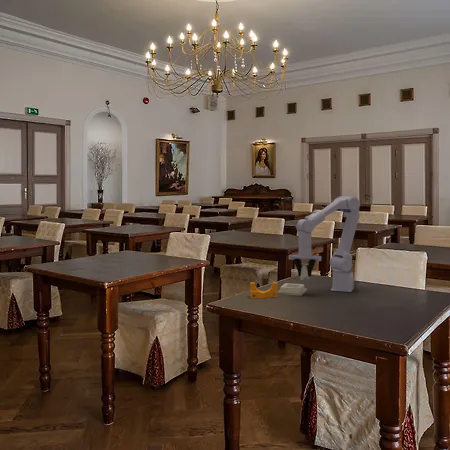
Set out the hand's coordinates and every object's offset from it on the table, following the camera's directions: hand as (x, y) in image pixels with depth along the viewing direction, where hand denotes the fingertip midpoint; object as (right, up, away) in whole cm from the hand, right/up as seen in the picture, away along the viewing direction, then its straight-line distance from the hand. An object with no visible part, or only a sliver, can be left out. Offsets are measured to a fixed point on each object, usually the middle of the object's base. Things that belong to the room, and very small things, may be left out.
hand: (304, 275), depth 222 cm
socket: (-5, -8, +5) cm, 11 cm away
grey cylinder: (0, -2, 0) cm, 2 cm away
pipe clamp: (-19, -10, -3) cm, 21 cm away
